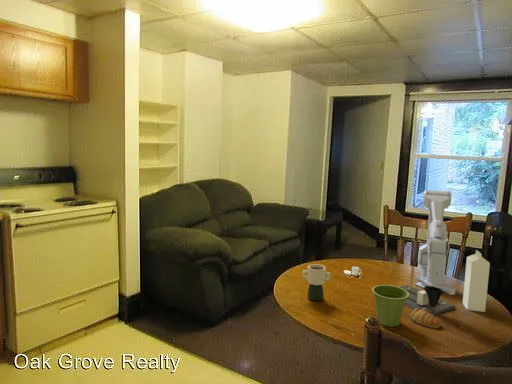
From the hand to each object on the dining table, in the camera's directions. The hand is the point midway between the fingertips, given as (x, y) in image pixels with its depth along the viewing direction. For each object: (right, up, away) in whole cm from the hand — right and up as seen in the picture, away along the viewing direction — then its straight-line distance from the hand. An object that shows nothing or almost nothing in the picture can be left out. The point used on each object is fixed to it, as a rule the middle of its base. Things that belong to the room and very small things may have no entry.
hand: (433, 306), depth 132 cm
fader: (-2, 0, +4) cm, 5 cm away
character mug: (-42, -1, +11) cm, 43 cm away
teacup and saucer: (-19, +2, +41) cm, 45 cm away
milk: (+18, -2, +5) cm, 19 cm away
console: (-1, -1, +10) cm, 10 cm away
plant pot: (-19, -3, -8) cm, 21 cm away
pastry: (-6, -4, -7) cm, 10 cm away
